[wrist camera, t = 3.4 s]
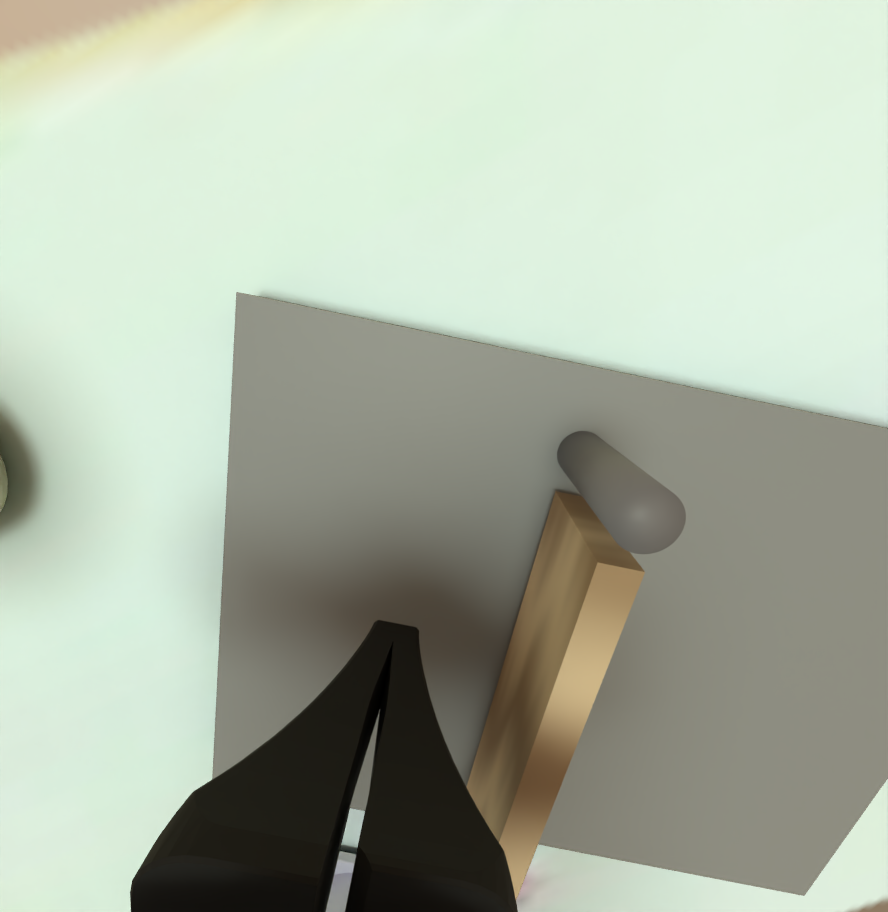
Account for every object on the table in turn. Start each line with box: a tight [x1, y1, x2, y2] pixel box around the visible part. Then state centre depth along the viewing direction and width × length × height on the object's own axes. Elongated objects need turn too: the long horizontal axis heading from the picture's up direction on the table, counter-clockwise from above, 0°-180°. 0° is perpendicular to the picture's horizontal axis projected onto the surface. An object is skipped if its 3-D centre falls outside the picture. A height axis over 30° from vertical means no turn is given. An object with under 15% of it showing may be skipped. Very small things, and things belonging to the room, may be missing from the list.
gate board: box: [212, 292, 888, 896], centre depth 13 cm, size 19×25×6 cm
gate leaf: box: [467, 491, 645, 899], centre depth 12 cm, size 13×1×4 cm, turn 169°
